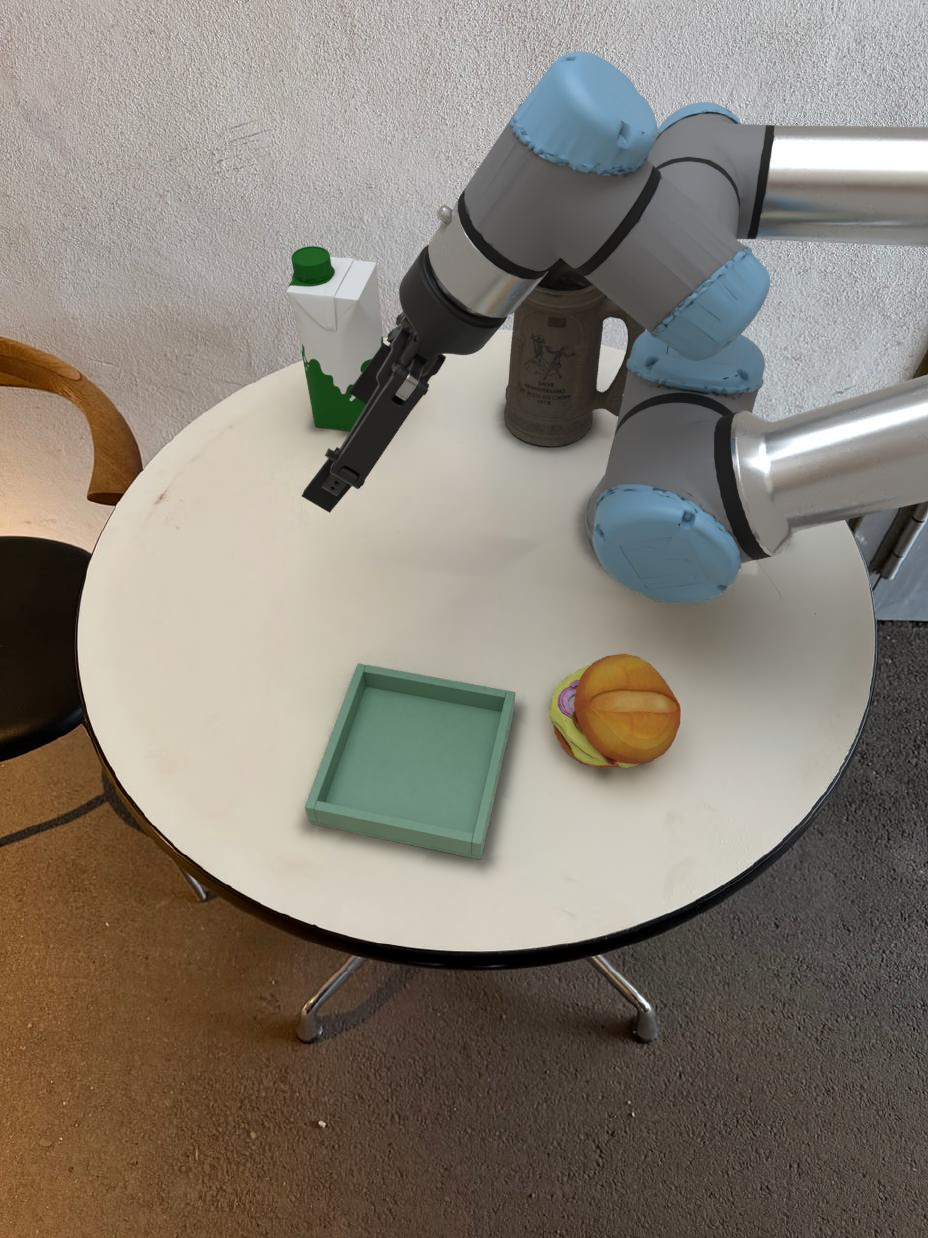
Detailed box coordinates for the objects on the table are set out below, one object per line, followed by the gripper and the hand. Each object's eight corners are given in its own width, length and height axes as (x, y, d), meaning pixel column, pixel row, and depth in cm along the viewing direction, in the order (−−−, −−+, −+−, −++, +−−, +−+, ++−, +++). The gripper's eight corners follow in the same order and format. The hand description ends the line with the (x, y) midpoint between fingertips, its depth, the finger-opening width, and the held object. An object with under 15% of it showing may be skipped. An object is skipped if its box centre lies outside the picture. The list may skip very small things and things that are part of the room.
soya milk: (326, 386, 108) (302, 232, 92) (396, 395, 107) (383, 240, 91) (305, 431, 103) (274, 275, 87) (378, 440, 101) (360, 284, 86)
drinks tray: (514, 710, 78) (515, 691, 76) (481, 860, 69) (481, 844, 67) (361, 681, 80) (357, 662, 78) (309, 824, 71) (304, 807, 69)
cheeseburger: (601, 657, 81) (636, 608, 73) (677, 745, 78) (722, 705, 70) (521, 713, 77) (547, 669, 69) (597, 809, 74) (635, 774, 66)
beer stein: (489, 439, 101) (506, 285, 85) (506, 384, 108) (524, 231, 92) (617, 464, 100) (659, 312, 84) (627, 407, 106) (667, 256, 90)
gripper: (463, 160, 66) (345, 339, 82) (375, 356, 52) (252, 527, 67) (540, 220, 69) (411, 382, 84) (476, 424, 54) (335, 574, 70)
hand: (340, 447), depth 76 cm, fingers open, 13 cm apart
